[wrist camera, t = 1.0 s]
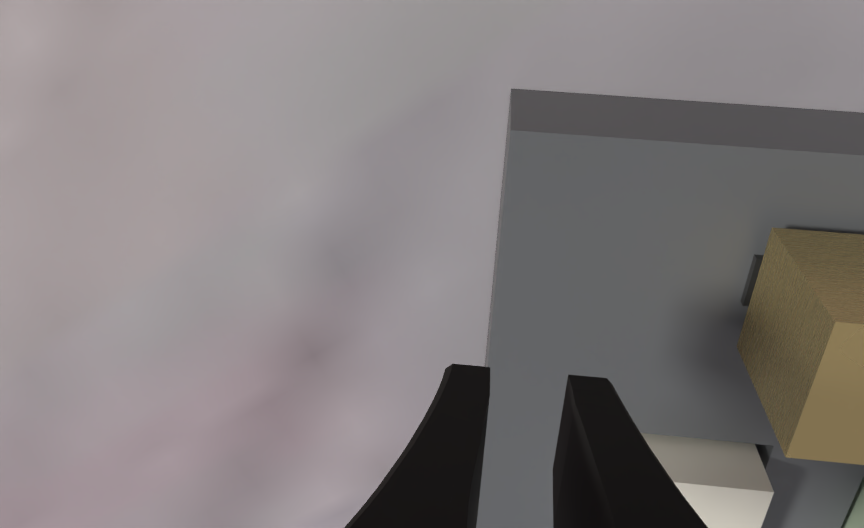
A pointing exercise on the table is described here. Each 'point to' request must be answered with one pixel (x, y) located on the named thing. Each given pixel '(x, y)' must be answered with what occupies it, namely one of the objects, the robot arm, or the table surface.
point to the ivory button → (716, 478)
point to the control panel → (651, 278)
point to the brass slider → (810, 343)
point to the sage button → (856, 510)
